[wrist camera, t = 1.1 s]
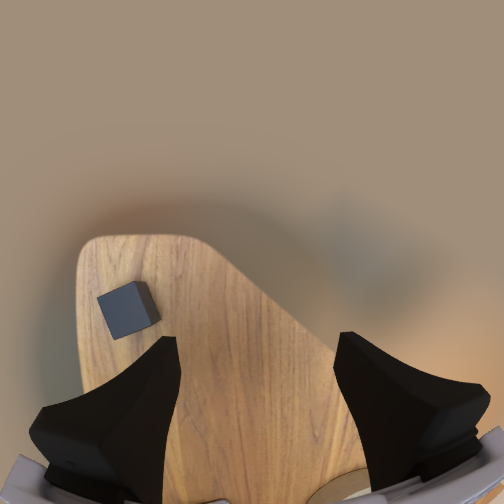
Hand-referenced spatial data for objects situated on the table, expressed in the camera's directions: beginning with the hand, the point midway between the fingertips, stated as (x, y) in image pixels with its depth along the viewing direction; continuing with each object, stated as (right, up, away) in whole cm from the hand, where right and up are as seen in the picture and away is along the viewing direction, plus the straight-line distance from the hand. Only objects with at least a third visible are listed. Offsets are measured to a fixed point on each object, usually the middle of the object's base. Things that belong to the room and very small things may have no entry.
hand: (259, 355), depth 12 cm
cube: (-11, 0, +11) cm, 16 cm away
